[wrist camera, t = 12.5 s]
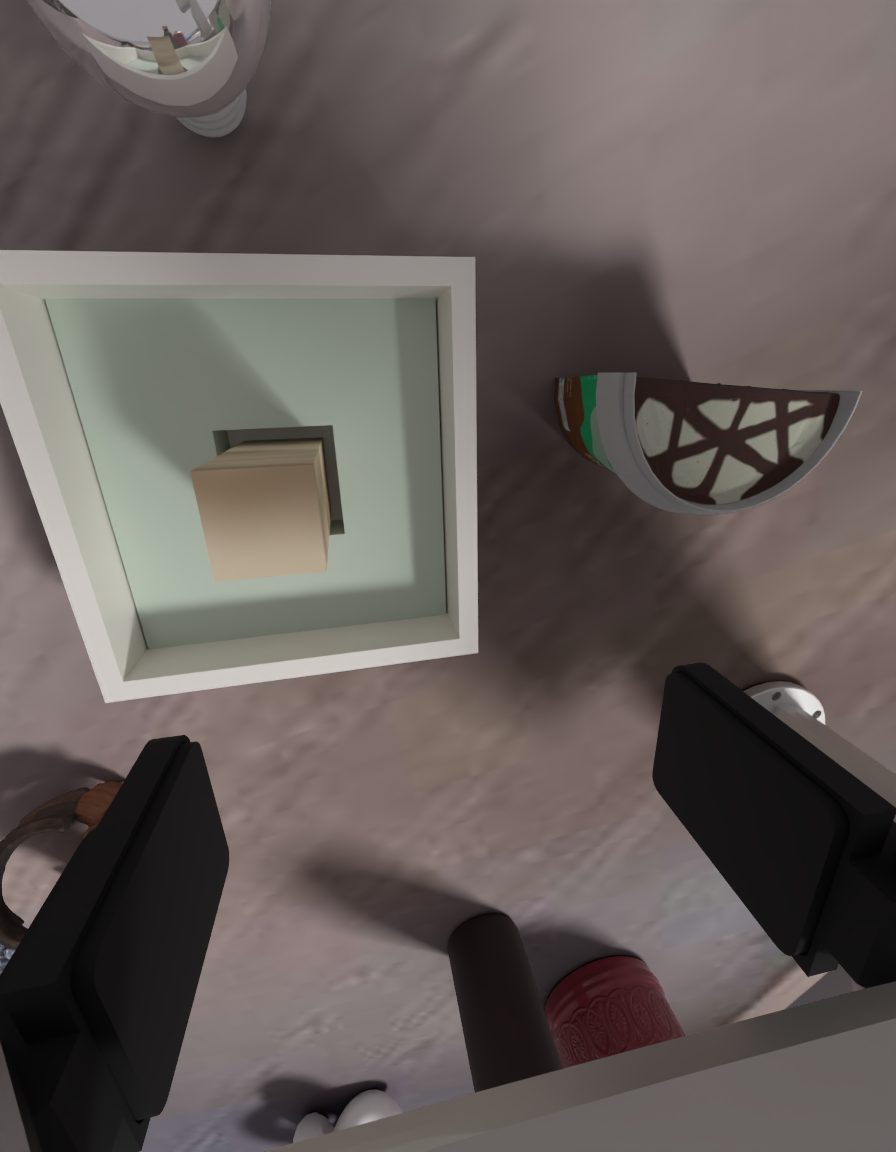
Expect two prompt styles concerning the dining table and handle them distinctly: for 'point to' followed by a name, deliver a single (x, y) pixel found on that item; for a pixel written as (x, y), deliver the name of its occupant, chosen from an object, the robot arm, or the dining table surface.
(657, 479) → the food container
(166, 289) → the open box
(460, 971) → the bottle
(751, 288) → the dining table surface
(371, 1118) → the white knot sculpture
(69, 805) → the brown looped sculpture
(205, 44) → the light bulb
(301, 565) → the maple peg
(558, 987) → the canister
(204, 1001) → the dining table surface
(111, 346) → the bore plate
